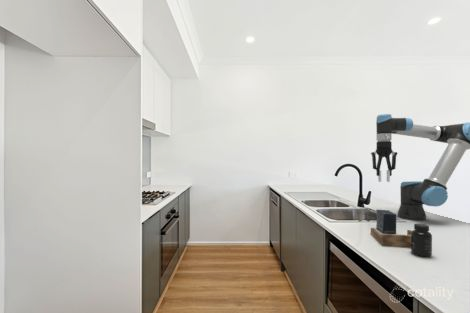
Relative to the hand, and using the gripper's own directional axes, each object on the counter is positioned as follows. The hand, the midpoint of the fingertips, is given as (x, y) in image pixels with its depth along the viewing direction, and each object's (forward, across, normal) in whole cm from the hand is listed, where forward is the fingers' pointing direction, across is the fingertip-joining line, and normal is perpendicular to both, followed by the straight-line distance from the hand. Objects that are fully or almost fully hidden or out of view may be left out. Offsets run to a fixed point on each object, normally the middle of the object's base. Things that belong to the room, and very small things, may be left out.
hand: (384, 181), depth 148 cm
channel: (+25, -4, -30) cm, 39 cm away
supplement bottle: (+25, -1, -47) cm, 53 cm away
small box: (+25, -4, -16) cm, 30 cm away
